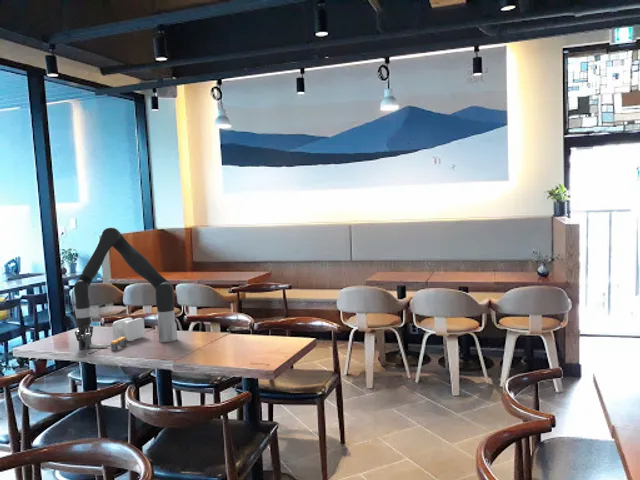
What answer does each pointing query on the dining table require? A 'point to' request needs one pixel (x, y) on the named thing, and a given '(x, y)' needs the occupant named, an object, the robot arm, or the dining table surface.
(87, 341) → the lead
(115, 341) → the tie bracket
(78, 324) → the robot arm
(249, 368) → the dining table surface
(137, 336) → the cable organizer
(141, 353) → the dining table surface
